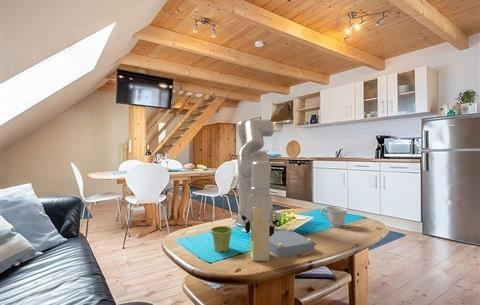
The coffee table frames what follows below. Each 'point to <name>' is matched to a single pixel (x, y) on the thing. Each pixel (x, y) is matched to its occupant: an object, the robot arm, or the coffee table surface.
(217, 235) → the plant pot
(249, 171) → the robot arm
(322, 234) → the coffee table surface
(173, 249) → the coffee table surface
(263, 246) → the cream tall block
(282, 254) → the base block
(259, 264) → the coffee table surface
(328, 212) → the teacup
